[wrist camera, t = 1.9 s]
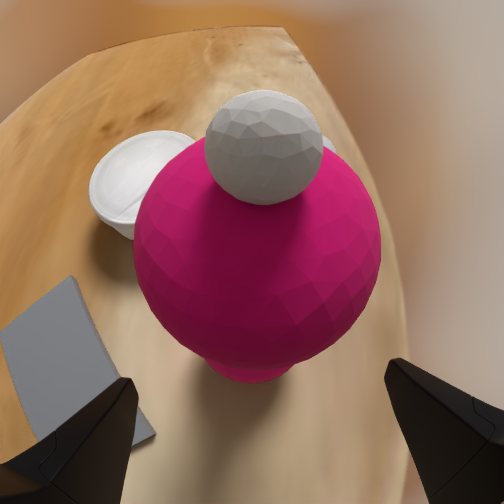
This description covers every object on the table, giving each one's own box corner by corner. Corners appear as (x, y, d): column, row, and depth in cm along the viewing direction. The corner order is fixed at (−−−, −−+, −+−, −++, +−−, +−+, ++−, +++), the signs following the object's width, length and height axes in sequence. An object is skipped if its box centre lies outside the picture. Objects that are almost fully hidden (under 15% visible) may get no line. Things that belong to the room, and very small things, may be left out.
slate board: (156, 433, 18) (152, 435, 17) (65, 476, 14) (59, 478, 13) (76, 279, 23) (70, 275, 22) (4, 335, 20) (-1, 332, 19)
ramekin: (196, 262, 24) (184, 231, 20) (93, 246, 25) (68, 217, 20) (222, 168, 29) (218, 131, 25) (131, 163, 30) (118, 130, 25)
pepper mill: (246, 275, 23) (245, 9, 5) (315, 330, 22) (509, 142, 3) (186, 339, 21) (-17, 161, 3) (255, 400, 19) (316, 567, 1)
